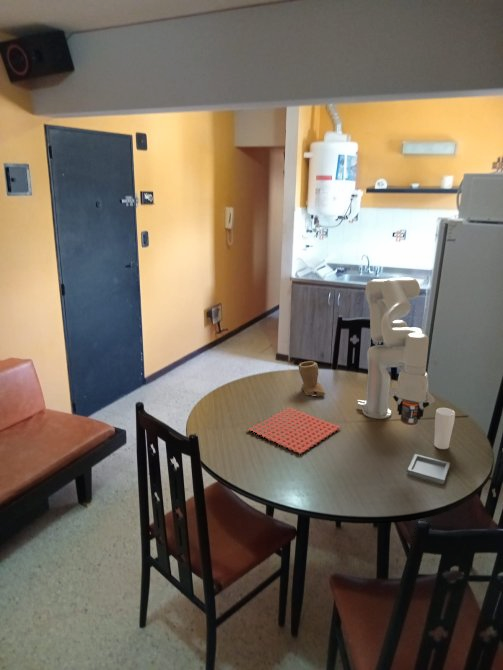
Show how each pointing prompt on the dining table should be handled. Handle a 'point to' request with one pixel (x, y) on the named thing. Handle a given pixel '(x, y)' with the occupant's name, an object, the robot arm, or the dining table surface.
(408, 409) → the supplement bottle
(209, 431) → the dining table surface
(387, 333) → the robot arm
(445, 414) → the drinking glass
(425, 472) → the tray
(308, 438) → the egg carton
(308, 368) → the tan boot-shaped piece
